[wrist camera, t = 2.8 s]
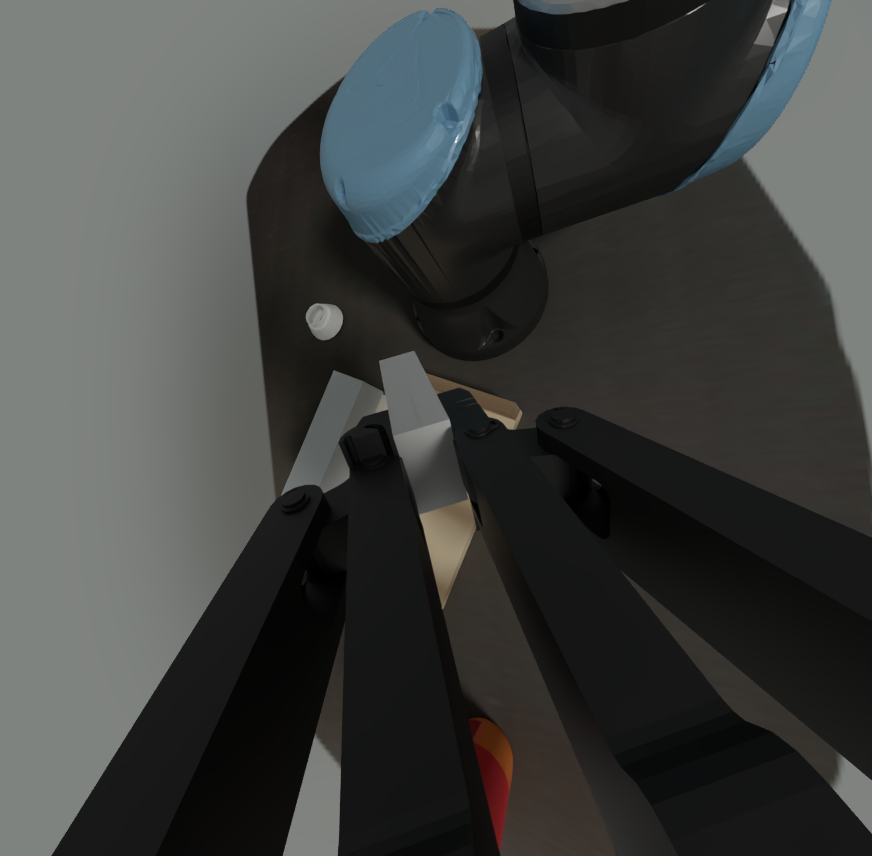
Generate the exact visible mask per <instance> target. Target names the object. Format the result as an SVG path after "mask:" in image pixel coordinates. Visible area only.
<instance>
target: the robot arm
mask: <svg viewBox="0 0 872 856" xmlns="http://www.w3.org/2000/svg"><path fill="white" fill-rule="evenodd" d="M513 2H514V9H515V17H514V18H512V19H511V20H509V21H507V22H506V23H504V24H502V25H501V26H499V27H497V28H495V29H494V30H492V31H490V32H488V33H486V34H485V35H483V36H481V37H479V38H477V36H476V34H475V32H474V31H473V30H472V29H471V28H470V27H469V26H468V24H467V22H466V21H465V20H464V19H463V18H462V17H461V16H460V15H459V14H457V13H455V12H454V11H451V10H448V9H444V8H437V9H435V10H434V12H433V13H432V14H431V15H430V14H429V13H428V12H427V11H425V10H422V11H418V12H416V13H413V14H411V15H409V16H407V17H405V18H403V19H402V20H400V21H398V22H397V23H395V24H394V25H392V26H391V27H390V28H388V29H387V30H386V31H385V32H384V33H383V34H381V35H380V36H379V37H378V38H377V39H376V40H375V41H374V42H373V43H372V44H371V45H370V46H369V47H368V48H367V49H366V50H365V51H364V52H363V53H362V54H361V56H360V57H359V58H358V60H357V61H356V62H355V64H354V65H353V66H352V67H351V69H350V70H349V72H348V73H347V75H346V76H345V78H344V80H343V81H342V83H341V85H340V87H339V89H338V91H337V94H336V96H335V98H334V99H333V101H332V103H331V106H330V108H329V111H328V113H327V116H326V119H325V123H324V127H323V132H322V137H321V145H320V165H321V171H322V176H323V180H324V183H325V185H326V188H327V190H328V192H329V194H330V196H331V198H332V199H333V201H334V202H335V203H336V205H337V206H338V208H339V209H340V210H341V212H342V213H343V215H344V216H345V217H346V219H347V220H348V222H349V224H350V226H351V228H352V229H353V231H354V233H355V234H356V235H357V236H358V237H359V238H361V239H362V240H364V241H365V243H366V244H367V245H368V246H369V247H370V248H371V250H372V251H373V252H374V253H375V254H376V255H377V256H378V258H379V259H380V260H381V261H382V262H383V263H384V265H385V266H386V267H387V268H388V269H389V270H390V272H391V273H392V274H393V275H394V276H395V277H396V278H397V280H398V281H399V282H400V283H401V284H402V285H403V287H404V288H405V289H406V290H407V291H408V292H409V294H410V298H411V300H412V302H413V309H414V314H415V318H416V321H417V324H418V326H419V328H420V329H421V331H422V333H423V334H424V335H425V337H426V338H427V339H428V340H429V341H430V342H431V343H432V344H433V345H434V346H435V347H436V348H437V349H438V350H439V351H441V352H442V353H444V354H446V355H448V356H450V357H453V358H456V359H460V360H467V361H479V360H485V359H490V358H493V357H496V356H499V355H501V354H503V353H505V352H507V351H509V350H511V349H512V348H514V347H515V346H517V345H518V344H519V343H521V342H522V341H523V340H524V339H525V338H526V337H527V336H528V335H529V334H530V333H531V332H532V330H533V329H534V328H535V326H536V325H537V323H538V322H539V320H540V318H541V316H542V314H543V312H544V309H545V306H546V303H547V298H548V278H547V272H546V266H545V262H544V260H543V257H542V255H541V253H540V251H539V249H538V248H537V246H536V245H535V244H534V243H533V242H532V240H531V239H533V238H536V237H538V236H542V235H544V234H547V233H550V232H553V231H556V230H559V229H562V228H565V227H568V226H571V225H574V224H577V223H580V222H583V221H586V220H589V219H591V218H594V217H597V216H600V215H603V214H606V213H609V212H612V211H615V210H618V209H621V208H624V207H627V206H630V205H633V204H636V203H639V202H641V201H644V200H647V199H650V198H653V197H656V196H663V195H667V194H669V193H670V192H674V191H677V190H679V189H681V188H683V187H684V186H686V185H688V184H689V183H690V182H692V181H695V180H697V179H700V178H702V177H704V176H707V175H709V174H712V173H714V172H716V171H719V170H721V169H723V168H725V167H727V166H729V165H730V164H732V163H734V162H735V161H737V160H738V159H739V158H741V157H742V156H743V155H744V154H745V153H747V152H748V151H749V150H750V149H751V148H753V147H754V146H755V145H756V144H757V143H758V142H759V141H760V139H761V138H762V137H763V136H764V135H765V134H766V133H767V132H768V130H769V129H770V128H771V127H772V125H773V124H774V123H775V121H776V120H777V119H778V117H779V116H780V114H781V113H782V111H783V109H784V108H785V106H786V105H787V103H788V102H789V100H790V99H791V97H792V95H793V93H794V91H795V90H796V88H797V86H798V84H799V83H800V81H801V79H802V77H803V75H804V73H805V71H806V69H807V67H808V65H809V62H810V60H811V57H812V56H813V53H814V51H815V48H816V46H817V43H818V41H819V38H820V35H821V32H822V30H823V27H824V24H825V21H826V17H827V15H828V11H829V7H830V3H831V0H513ZM503 25H504V26H503ZM379 363H380V369H381V374H382V379H383V385H384V390H385V396H386V401H387V407H388V410H384V411H381V412H377V413H374V414H371V415H367V416H364V417H362V418H361V420H360V421H359V423H358V424H357V426H356V427H354V428H352V429H350V430H349V431H347V432H346V433H345V434H344V435H343V436H342V437H341V438H340V440H339V442H338V443H339V446H340V448H341V450H342V453H343V455H344V458H345V460H346V462H347V465H348V467H349V469H350V470H349V478H348V479H347V480H346V481H345V482H343V483H342V484H340V485H338V486H337V487H335V488H333V489H331V490H329V491H327V492H325V493H323V491H322V489H321V488H320V487H319V486H317V485H303V486H299V487H295V488H293V489H291V490H289V491H287V492H285V493H284V494H283V495H282V496H280V497H279V498H278V499H276V501H275V502H274V503H273V504H272V505H271V506H270V508H269V510H268V511H267V513H266V514H265V516H264V518H263V519H262V521H261V523H260V524H259V526H258V527H257V529H256V531H255V532H254V534H253V535H252V537H251V538H250V540H249V542H248V543H247V545H246V546H245V548H244V550H243V551H242V553H241V554H240V556H239V558H238V559H237V561H236V562H235V564H234V566H233V567H232V569H231V570H230V572H229V573H228V575H227V577H226V578H225V580H224V582H223V583H222V585H221V586H220V588H219V589H218V591H217V593H216V594H215V596H214V597H213V599H212V601H211V602H210V604H209V605H208V607H207V609H206V610H205V612H204V613H203V615H202V617H201V618H200V620H199V621H198V623H197V625H196V626H195V628H194V629H193V631H192V633H191V634H190V636H189V637H188V639H187V640H186V642H185V644H184V645H183V647H182V648H181V650H180V652H179V653H178V655H177V657H176V658H175V660H174V661H173V663H172V664H171V666H170V668H169V669H168V671H167V672H166V674H165V676H164V677H163V679H162V681H161V682H160V684H159V685H158V687H157V689H156V690H155V691H154V693H153V695H152V696H151V698H150V699H149V701H148V703H147V704H146V706H145V707H144V709H143V711H142V712H141V714H140V715H139V717H138V719H137V720H136V722H135V723H134V725H133V727H132V729H131V730H130V731H129V733H128V735H127V736H126V738H125V739H124V741H123V742H122V744H121V746H120V747H119V749H118V751H117V752H116V754H115V755H114V757H113V758H112V760H111V762H110V763H109V765H108V766H107V768H106V770H105V771H104V773H103V774H102V776H101V778H100V779H99V781H98V782H97V784H96V786H95V787H94V789H93V790H92V792H91V794H90V795H89V797H88V799H87V800H86V801H85V803H84V805H83V807H82V808H81V809H80V811H79V813H78V814H77V816H76V818H75V819H74V821H73V822H72V824H71V825H70V827H69V829H68V830H67V832H66V834H65V835H64V837H63V838H62V840H61V841H60V843H59V845H58V846H57V848H56V849H55V851H54V853H53V854H52V856H283V852H284V848H285V845H286V841H287V837H288V833H289V829H290V826H291V822H292V818H293V814H294V811H295V807H296V803H297V799H298V796H299V792H300V788H301V784H302V780H303V777H304V773H305V769H306V765H307V762H308V758H309V754H310V751H311V746H312V743H313V739H314V735H315V732H316V728H317V724H318V720H319V717H320V713H321V709H322V705H323V702H324V698H325V694H326V690H327V687H328V683H329V679H330V675H331V671H332V668H333V664H334V660H335V656H336V653H337V649H338V645H339V641H340V638H341V634H342V630H343V626H344V623H345V648H344V683H343V719H342V754H341V791H340V826H339V846H338V856H500V852H499V848H498V843H497V839H496V835H495V831H494V826H493V822H492V818H491V814H490V809H489V805H488V801H487V797H486V792H485V788H484V784H483V780H482V775H481V771H480V767H479V763H478V758H477V754H476V750H475V746H474V741H473V737H472V733H471V729H470V724H469V720H468V716H467V711H466V707H465V703H464V699H463V694H462V690H461V686H460V682H459V677H458V673H457V669H456V665H455V660H454V656H453V652H452V648H451V643H450V639H449V635H448V631H447V626H446V622H445V618H444V614H443V609H442V605H441V601H440V597H439V592H438V588H437V584H436V580H435V575H434V571H433V567H432V563H431V558H430V554H429V550H428V546H427V541H426V537H425V533H424V529H423V525H422V522H421V519H420V516H419V515H420V514H423V513H426V512H429V511H433V510H436V509H439V508H442V507H445V506H449V505H452V504H455V503H458V502H462V501H465V500H468V496H467V493H468V495H469V498H470V502H471V507H472V511H473V515H474V520H475V524H476V528H477V531H478V530H481V532H482V535H483V537H484V539H485V542H486V544H487V547H488V549H489V551H490V554H491V556H492V558H493V561H494V563H495V565H496V568H497V570H498V573H499V575H500V577H501V580H502V582H503V584H504V587H505V589H506V591H507V594H508V596H509V599H510V601H511V603H512V606H513V608H514V610H515V613H516V615H517V618H518V620H519V622H520V625H521V627H522V629H523V632H524V634H525V636H526V639H527V641H528V644H529V646H530V648H531V651H532V653H533V655H534V658H535V660H536V662H537V665H538V667H539V670H540V672H541V674H542V677H543V679H544V681H545V684H546V686H547V688H548V691H549V693H550V696H551V698H552V700H553V703H554V705H555V707H556V710H557V712H558V715H559V717H560V719H561V722H562V724H563V726H564V729H565V731H566V733H567V736H568V738H569V741H570V743H571V745H572V748H573V750H574V752H575V755H576V757H577V759H578V762H579V764H580V767H581V769H582V771H583V774H584V776H585V778H586V781H587V783H588V785H589V788H590V790H591V793H592V795H593V797H594V800H595V802H596V804H597V807H598V809H599V811H600V814H601V816H602V819H603V821H604V823H605V826H606V828H607V831H608V833H609V836H610V839H611V841H612V844H613V847H614V850H615V853H616V856H872V834H871V832H870V831H869V830H868V829H867V828H866V827H865V826H864V824H863V823H862V822H861V821H860V820H859V819H858V817H857V816H856V815H855V814H854V813H853V812H852V811H851V810H850V808H849V807H848V806H847V805H846V804H845V802H844V801H843V800H842V799H841V798H840V797H839V795H838V794H837V793H836V792H835V791H834V790H833V788H832V787H831V786H830V785H829V784H828V783H827V782H826V781H825V780H824V778H823V777H822V776H821V775H820V774H819V773H818V772H817V771H816V770H815V769H814V768H813V767H812V766H811V765H810V764H809V763H808V762H807V761H806V760H805V759H804V758H803V757H802V756H801V755H800V754H799V753H798V752H797V751H796V750H795V749H794V748H792V747H791V746H790V745H789V744H787V743H786V742H785V741H783V740H782V739H781V738H780V737H778V736H777V735H776V734H774V733H773V732H771V731H769V730H766V729H764V728H761V727H759V726H757V725H754V724H752V723H749V722H747V721H745V720H744V719H742V718H741V717H740V716H739V715H737V714H736V713H735V712H734V711H733V710H732V709H731V708H730V707H729V706H728V705H727V704H726V702H725V701H724V700H723V699H722V698H721V697H720V696H719V694H718V693H717V692H716V690H715V689H714V688H713V687H712V685H711V684H710V683H709V682H708V680H707V679H706V678H705V677H704V675H703V674H702V673H701V672H700V670H699V669H698V668H697V667H696V665H695V664H694V663H693V662H692V660H691V659H690V658H689V657H688V655H687V654H686V653H685V651H684V650H683V649H682V648H681V646H680V645H679V644H678V643H677V641H676V640H675V639H674V638H673V636H672V635H671V634H670V633H669V631H668V630H667V629H666V628H665V626H664V625H663V624H662V623H661V621H660V620H659V619H658V617H657V616H656V615H655V614H654V612H653V611H652V610H651V609H650V607H649V606H648V605H647V604H646V602H645V601H644V600H643V599H642V597H641V596H640V595H639V594H638V592H637V591H636V590H635V589H634V587H633V586H632V585H631V583H630V582H629V581H628V580H627V578H626V577H625V576H624V575H623V573H622V572H624V573H625V574H626V575H627V576H628V577H630V578H631V579H632V580H633V581H634V582H636V583H637V584H638V585H639V586H640V587H641V588H643V589H644V590H645V591H646V592H647V593H649V594H650V595H651V596H652V597H653V598H655V599H656V600H657V601H658V602H659V603H661V604H662V605H663V606H664V607H665V608H667V609H668V610H669V611H670V612H671V613H673V614H674V615H675V616H676V617H677V618H679V619H680V620H681V621H682V622H683V623H684V624H686V625H687V626H688V627H689V628H690V629H692V630H693V631H694V632H695V633H696V634H698V635H699V636H700V637H701V638H702V639H704V640H705V641H706V642H707V643H708V644H710V645H711V646H712V647H713V648H714V649H716V650H717V651H718V652H719V653H720V654H722V655H723V656H724V657H725V658H726V659H727V660H729V661H730V662H731V663H732V664H733V665H735V666H736V667H737V668H738V669H739V670H741V671H742V672H743V673H744V674H745V675H747V676H748V677H749V678H750V679H751V680H753V681H754V682H755V683H756V684H757V685H759V686H760V687H761V688H762V689H763V690H765V691H766V692H767V693H768V694H769V695H770V696H772V697H773V698H774V699H775V700H776V701H778V702H779V703H780V704H781V705H782V706H784V707H785V708H786V709H787V710H788V711H790V712H791V713H792V714H793V715H794V716H796V717H797V718H798V719H799V720H800V721H802V722H803V723H804V724H805V725H806V726H808V727H809V728H810V729H811V730H812V731H813V732H815V733H816V734H817V735H818V736H819V737H821V738H822V739H823V740H824V741H825V742H827V743H828V744H829V745H830V746H831V747H833V748H834V749H835V750H836V751H837V752H839V753H840V754H841V755H842V756H843V757H845V758H846V759H847V760H848V761H849V762H851V763H852V764H853V765H854V766H855V767H857V768H858V769H859V770H860V771H861V772H862V773H864V774H865V775H866V776H867V777H868V778H870V779H871V780H872V538H871V537H869V536H867V535H865V534H862V533H860V532H858V531H856V530H853V529H851V528H849V527H846V526H844V525H842V524H840V523H837V522H835V521H833V520H831V519H828V518H826V517H824V516H822V515H819V514H817V513H815V512H813V511H810V510H808V509H806V508H803V507H801V506H799V505H797V504H794V503H792V502H790V501H788V500H785V499H783V498H781V497H779V496H776V495H774V494H772V493H769V492H767V491H765V490H763V489H760V488H758V487H756V486H754V485H751V484H749V483H747V482H745V481H742V480H740V479H738V478H736V477H733V476H731V475H729V474H726V473H724V472H722V471H720V470H717V469H715V468H713V467H711V466H708V465H706V464H704V463H702V462H699V461H697V460H695V459H693V458H690V457H688V456H686V455H683V454H681V453H679V452H677V451H674V450H672V449H670V448H668V447H665V446H663V445H661V444H659V443H656V442H654V441H652V440H650V439H647V438H645V437H643V436H640V435H638V434H636V433H634V432H631V431H629V430H627V429H625V428H622V427H620V426H618V425H616V424H613V423H611V422H609V421H606V420H604V419H602V418H600V417H597V416H595V415H593V414H591V413H588V412H586V411H584V410H581V409H577V408H571V407H560V408H558V407H557V408H553V409H550V410H547V411H545V412H543V413H542V414H540V415H539V416H538V417H537V419H536V420H535V421H536V428H530V429H519V430H512V429H507V427H506V426H505V425H504V424H503V423H502V422H501V421H500V420H498V419H495V418H491V417H488V416H487V414H486V413H485V412H484V410H483V409H482V408H481V406H480V405H479V404H478V402H477V401H476V400H475V399H474V397H473V396H472V394H471V393H470V391H468V390H465V389H462V388H460V387H459V388H456V389H452V390H449V391H446V392H442V393H439V394H436V392H435V390H434V388H433V387H432V385H431V383H430V381H429V379H428V377H427V375H426V373H425V371H424V369H423V367H422V365H421V363H420V361H419V359H418V358H417V356H416V354H415V352H414V351H412V352H408V353H405V354H401V355H398V356H394V357H391V358H387V359H384V360H380V361H379ZM592 478H593V479H594V480H596V481H597V482H599V483H600V484H601V485H602V486H600V485H598V484H596V483H595V482H593V481H592ZM466 491H467V492H466ZM619 569H620V570H621V571H622V572H621V571H620V570H619Z"/></svg>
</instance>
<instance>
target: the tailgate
mask: <svg viewBox="0 0 872 856" xmlns="http://www.w3.org/2000/svg"><path fill="white" fill-rule="evenodd" d="M384 410H388V407H387V401H386V396H385V395H383V392H382V391H381V390H379V389H377V388H375V387H373V386H371V385H369V384H367V383H366V382H364V381H361V380H358V379H356V378H353V377H350V376H348V375H345V374H342V373H340V372H337V371H333V374H332V376H331V378H330V381H329V383H328V385H327V388H326V390H325V393H324V395H323V397H322V400H321V402H320V404H319V407H318V409H317V412H316V414H315V416H314V419H313V421H312V423H311V426H310V428H309V431H308V433H307V435H306V438H305V440H304V442H303V445H302V447H301V449H300V452H299V454H298V457H297V459H296V461H295V464H294V466H293V468H292V471H291V473H290V476H289V478H288V480H287V483H286V485H285V487H284V490H283V492H282V495H283V494H284V493H285V492H287V491H289V490H291V489H293V488H295V487H299V486H303V485H317V486H319V487H320V488H321V489H322V491H323V493H325V492H327V491H329V490H331V489H333V488H335V487H337V486H338V485H340V484H342V483H343V482H345V481H346V480H347V479H348V478H349V470H350V469H349V467H348V465H347V462H346V460H345V458H344V455H343V453H342V450H341V448H340V446H339V443H338V442H339V440H340V438H341V437H342V436H343V435H344V434H345V433H346V432H347V431H349V430H350V429H352V428H354V427H356V426H357V424H358V423H359V421H360V420H361V418H362V417H364V416H367V415H371V414H374V413H377V412H381V411H384ZM282 495H281V496H282Z"/></svg>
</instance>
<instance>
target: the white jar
mask: <svg viewBox="0 0 872 856" xmlns="http://www.w3.org/2000/svg"><path fill="white" fill-rule="evenodd" d="M322 316H323V317H322ZM320 319H321V320H320ZM306 321H307V323H308V325H309V327H310V329H311V332H312V334H313V335H314V336H315V337H316V338H318V339H320V340H329V339H331V338H332V337H334V336H335V335H336V334H337V333H338V332H339V330H340V328H341V326H342V323H343V315H342V312H341V310H340V309H339V308H338V307H337V306H335V305H331V304H314V305H312V306H311V307H310V308H309V309H308V311H307V314H306Z"/></svg>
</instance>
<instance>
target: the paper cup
mask: <svg viewBox="0 0 872 856" xmlns="http://www.w3.org/2000/svg"><path fill="white" fill-rule="evenodd" d="M468 720H469V724H470V729H471V733H472V737H473V741H474V746H475V750H476V754H477V758H478V763H479V767H480V771H481V775H482V780H483V784H484V788H485V792H486V797H487V801H488V805H489V809H490V814H491V818H492V822H493V826H494V831H495V835H496V839H497V843H498V848H499V852H500V847H501V841H502V835H503V828H504V822H505V816H506V810H507V804H508V797H509V791H510V785H511V777H512V769H513V755H512V750H511V746H510V744H509V741H508V739H507V737H506V736H505V734H504V733H503V731H502V730H501V729H500V728H499V727H498V726H497V725H496V724H494V723H493V722H491V721H489V720H487V719H484V718H480V717H475V718H470V719H468Z"/></svg>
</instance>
